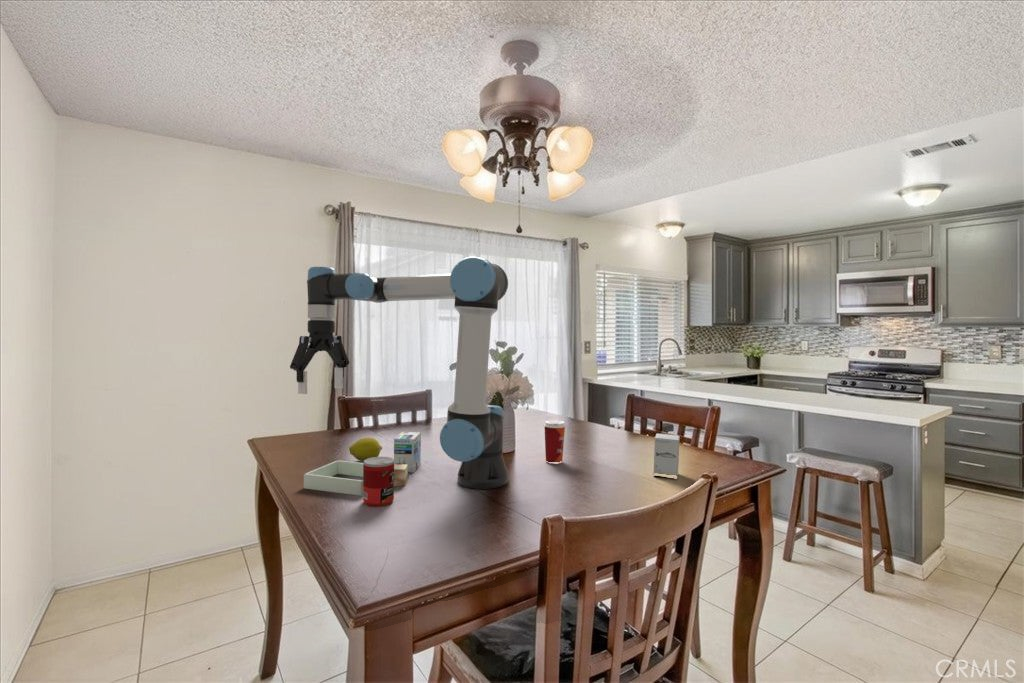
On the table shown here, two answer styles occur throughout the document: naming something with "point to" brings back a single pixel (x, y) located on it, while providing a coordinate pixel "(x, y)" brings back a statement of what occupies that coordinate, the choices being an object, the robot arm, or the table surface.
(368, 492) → the canned food
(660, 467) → the supplement box
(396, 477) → the maple block
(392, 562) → the table surface
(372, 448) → the lemon
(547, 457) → the paper cup
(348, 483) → the box
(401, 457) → the light bulb box
